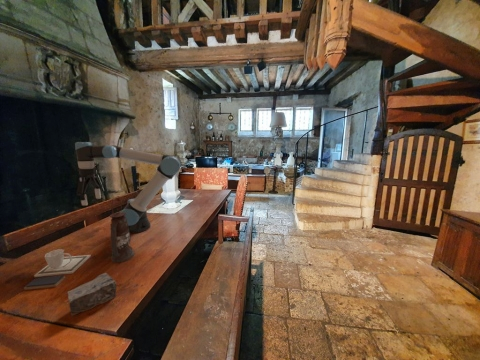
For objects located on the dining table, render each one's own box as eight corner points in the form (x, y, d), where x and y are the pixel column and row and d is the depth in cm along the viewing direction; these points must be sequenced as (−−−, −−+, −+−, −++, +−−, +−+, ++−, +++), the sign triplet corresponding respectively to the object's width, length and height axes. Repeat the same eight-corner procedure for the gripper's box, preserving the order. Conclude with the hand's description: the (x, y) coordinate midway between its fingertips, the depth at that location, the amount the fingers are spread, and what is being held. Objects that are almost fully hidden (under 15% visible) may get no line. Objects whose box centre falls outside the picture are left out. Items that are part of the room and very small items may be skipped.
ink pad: (65, 277, 85) (65, 274, 84) (56, 286, 79) (55, 283, 79) (36, 280, 83) (35, 277, 82) (24, 289, 77) (23, 286, 77)
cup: (53, 263, 93) (50, 249, 92) (76, 260, 96) (74, 247, 94) (43, 273, 86) (39, 258, 85) (68, 269, 89) (65, 255, 87)
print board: (90, 256, 101) (90, 254, 101) (72, 273, 88) (72, 271, 87) (58, 258, 98) (57, 257, 98) (34, 277, 85) (33, 275, 85)
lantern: (103, 266, 93) (94, 202, 86) (120, 248, 108) (113, 193, 102) (126, 265, 94) (118, 201, 87) (139, 247, 110) (133, 192, 103)
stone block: (111, 285, 81) (109, 270, 79) (118, 296, 75) (115, 280, 74) (69, 305, 70) (65, 288, 69) (72, 320, 64) (68, 302, 63)
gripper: (92, 165, 120) (97, 196, 124) (63, 171, 96) (70, 208, 100) (105, 165, 121) (109, 195, 125) (79, 170, 97) (85, 208, 101)
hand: (92, 201), depth 112 cm, fingers open, 13 cm apart
